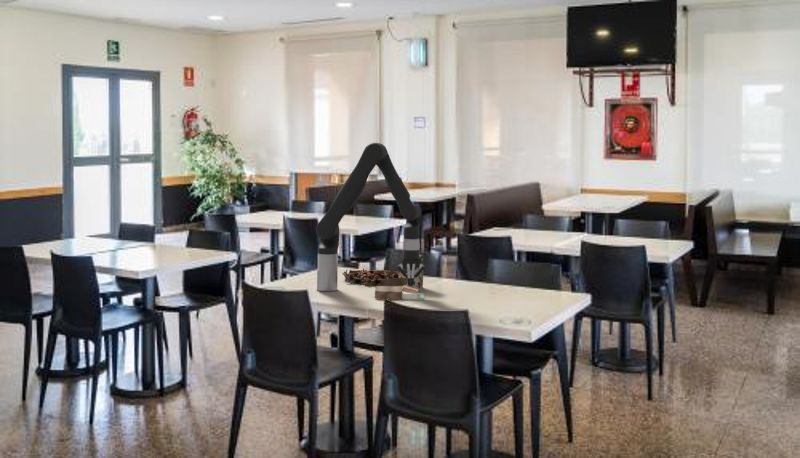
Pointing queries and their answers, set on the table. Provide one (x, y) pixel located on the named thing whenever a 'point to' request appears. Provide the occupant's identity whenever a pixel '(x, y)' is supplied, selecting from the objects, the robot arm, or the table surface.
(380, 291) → the deck
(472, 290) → the table surface
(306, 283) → the table surface
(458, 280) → the table surface
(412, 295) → the cream card
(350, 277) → the dried twig wreath
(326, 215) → the robot arm
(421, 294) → the mat
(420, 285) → the coffee box
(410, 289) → the terracotta card
